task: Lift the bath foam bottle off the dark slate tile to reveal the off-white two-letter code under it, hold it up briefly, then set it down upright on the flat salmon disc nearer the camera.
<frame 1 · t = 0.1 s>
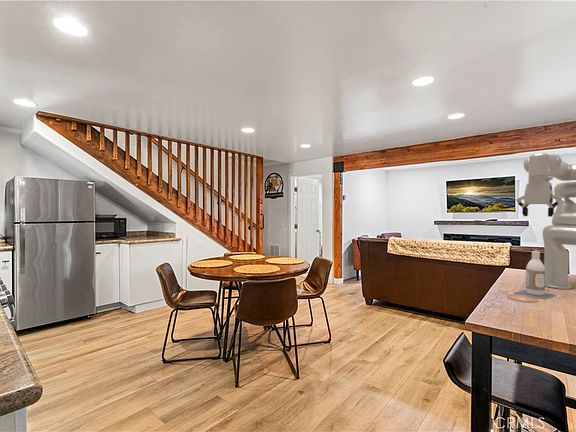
hand: (537, 216, 147), 37 cm above the table, tool pointing down, fingers open, 9 cm apart
bath foam: (534, 294, 145), on the table, touching code tile
code tile: (534, 294, 145), on the table
flat salmon disc: (522, 298, 138), on the table
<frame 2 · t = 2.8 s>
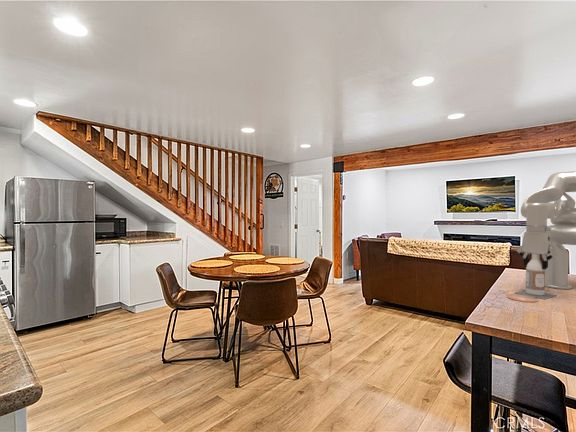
hand: (535, 267, 145), 13 cm above the table, tool pointing down, fingers closed on bath foam, 6 cm apart
bath foam: (534, 294, 145), on the table, touching code tile, gripper
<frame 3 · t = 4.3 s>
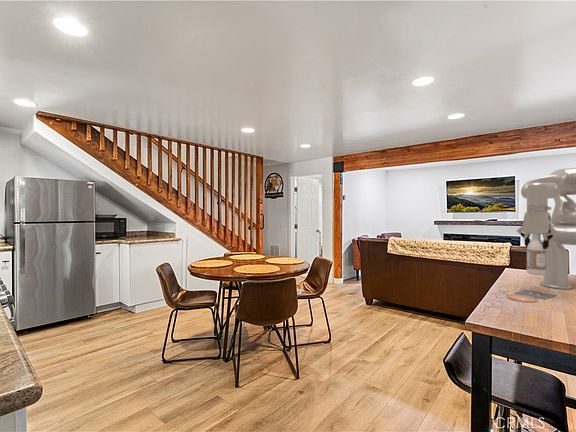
hand: (536, 247, 145), 22 cm above the table, tool pointing down, fingers closed on bath foam, 6 cm apart
bath foam: (535, 274, 145), point 9 cm above the table, touching gripper
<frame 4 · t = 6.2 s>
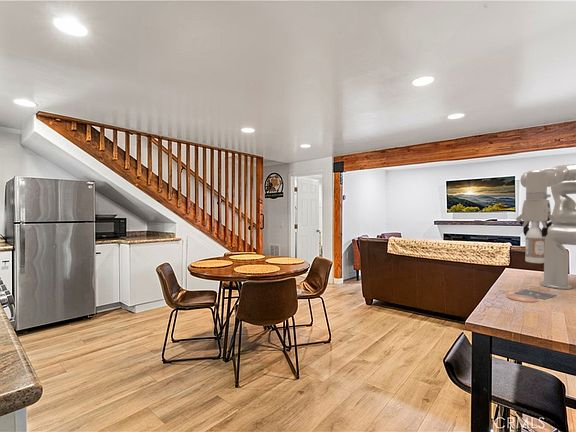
hand: (535, 235, 144), 28 cm above the table, tool pointing down, fingers closed on bath foam, 6 cm apart
bath foam: (534, 262, 144), point 15 cm above the table, touching gripper
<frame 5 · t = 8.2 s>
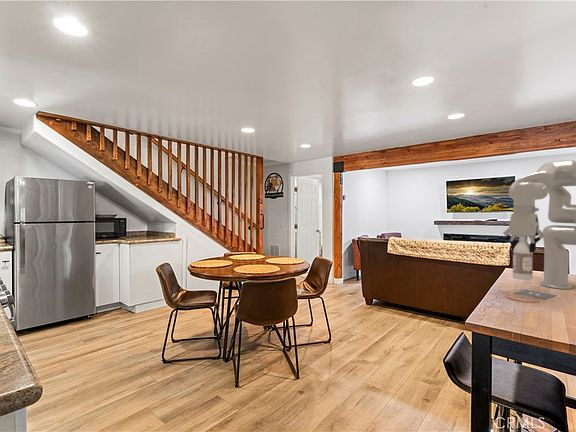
hand: (522, 250, 138), 21 cm above the table, tool pointing down, fingers closed on bath foam, 6 cm apart
bath foam: (522, 279, 138), point 9 cm above the table, touching gripper
when the fingers open (14 cm above the table, at t = 9.9 s): bath foam drops 1 cm, resting on flat salmon disc.
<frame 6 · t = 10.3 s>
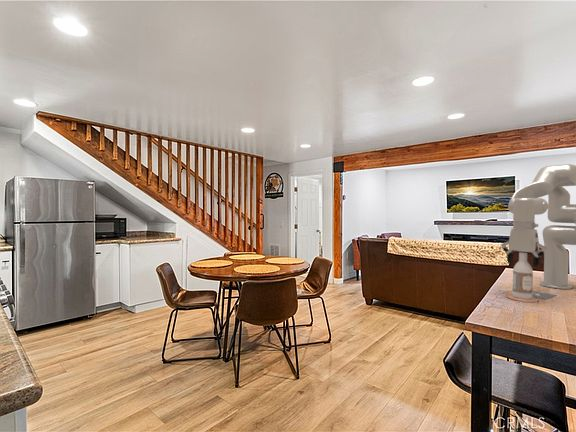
hand: (522, 264, 138), 15 cm above the table, tool pointing down, fingers open, 9 cm apart
bath foam: (522, 297, 138), resting on flat salmon disc
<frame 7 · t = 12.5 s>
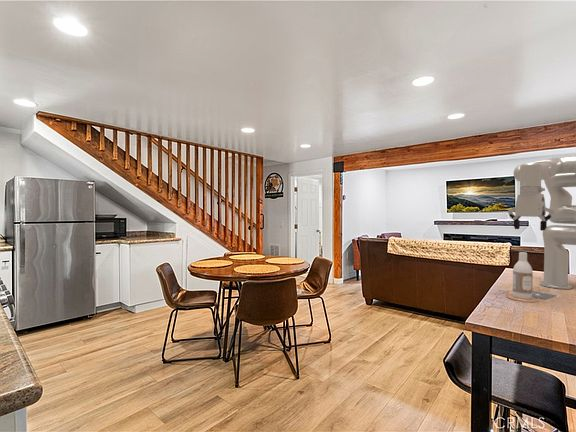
hand: (529, 229, 138), 31 cm above the table, tool pointing down, fingers open, 9 cm apart
nothing on the table moved.
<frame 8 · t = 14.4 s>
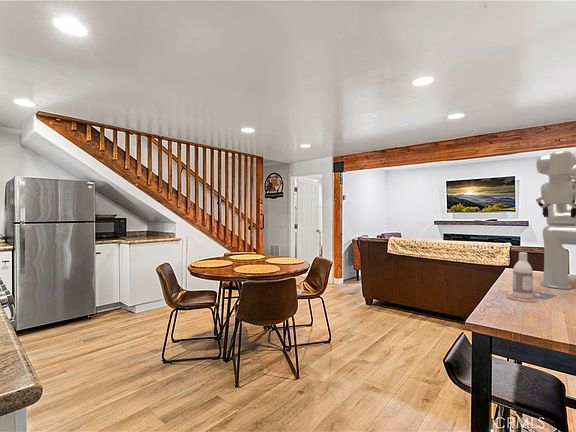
hand: (559, 217, 141), 36 cm above the table, tool pointing down, fingers open, 9 cm apart
nothing on the table moved.
at the end: bath foam 0.2 cm off-centre on the flat salmon disc, point 0.4 cm above the flat salmon disc's base; bath foam tilted 0°; the gripper is holding nothing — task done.
